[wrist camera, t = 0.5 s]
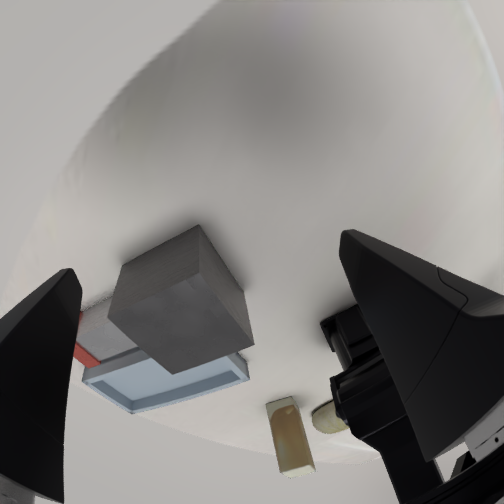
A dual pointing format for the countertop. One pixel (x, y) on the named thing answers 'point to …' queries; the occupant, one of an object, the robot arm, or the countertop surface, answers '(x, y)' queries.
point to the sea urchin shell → (328, 420)
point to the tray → (159, 380)
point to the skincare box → (289, 438)
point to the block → (181, 304)
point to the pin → (99, 336)
